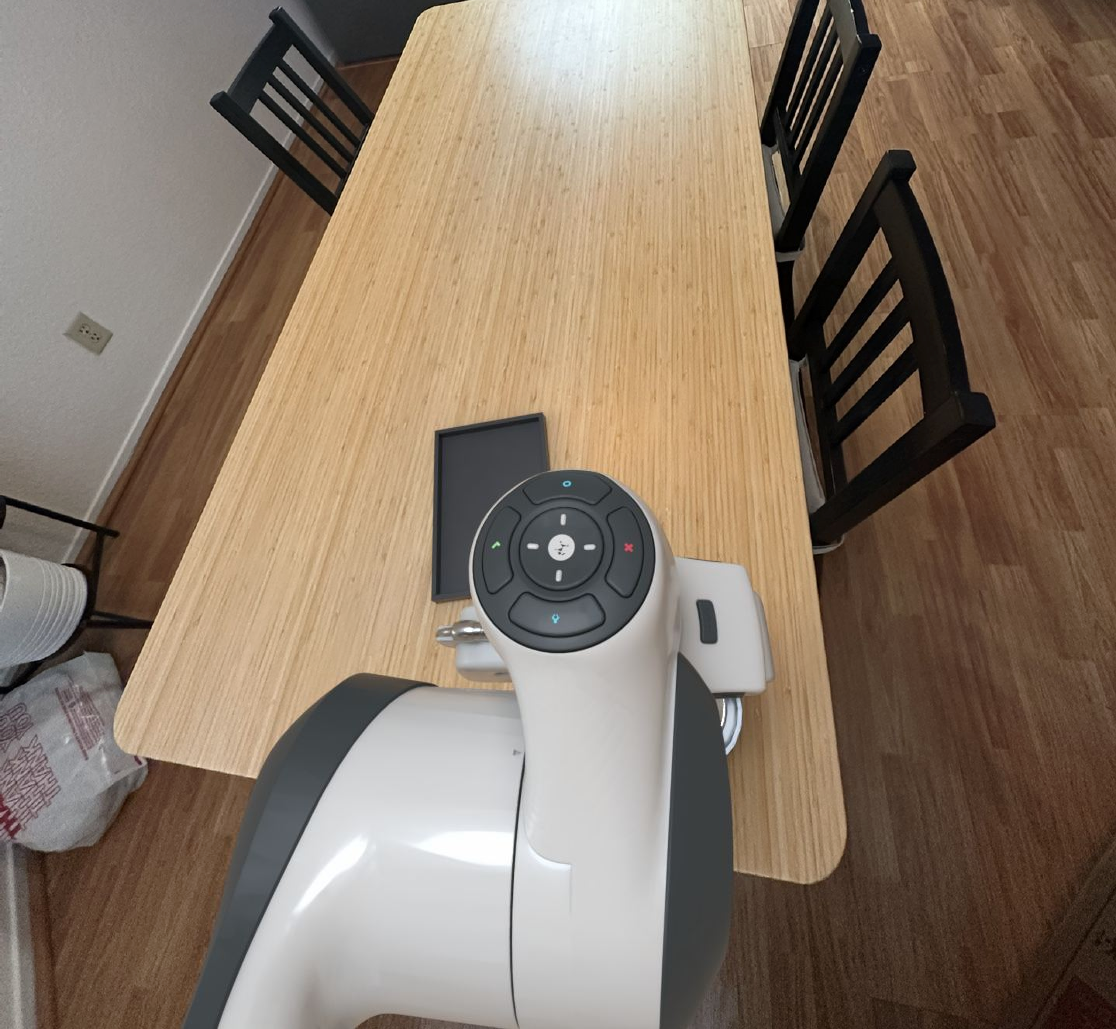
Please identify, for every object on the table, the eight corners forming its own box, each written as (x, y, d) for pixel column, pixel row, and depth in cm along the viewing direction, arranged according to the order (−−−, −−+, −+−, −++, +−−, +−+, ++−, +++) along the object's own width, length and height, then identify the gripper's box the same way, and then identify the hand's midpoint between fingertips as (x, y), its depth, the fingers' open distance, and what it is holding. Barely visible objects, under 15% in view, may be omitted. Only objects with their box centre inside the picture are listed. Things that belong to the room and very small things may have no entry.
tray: (560, 585, 73) (557, 583, 72) (436, 603, 75) (430, 600, 74) (545, 417, 86) (542, 411, 84) (439, 435, 87) (434, 430, 86)
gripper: (417, 693, 35) (479, 712, 46) (798, 692, 32) (768, 713, 43) (433, 572, 39) (486, 616, 50) (773, 563, 36) (752, 612, 47)
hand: (619, 661), depth 46 cm, fingers open, 8 cm apart
